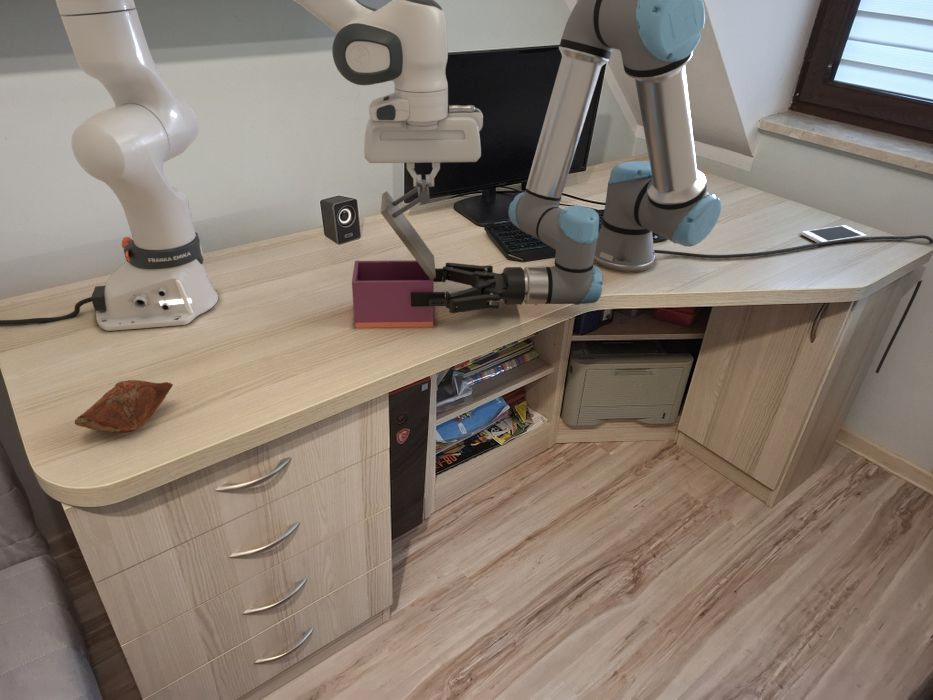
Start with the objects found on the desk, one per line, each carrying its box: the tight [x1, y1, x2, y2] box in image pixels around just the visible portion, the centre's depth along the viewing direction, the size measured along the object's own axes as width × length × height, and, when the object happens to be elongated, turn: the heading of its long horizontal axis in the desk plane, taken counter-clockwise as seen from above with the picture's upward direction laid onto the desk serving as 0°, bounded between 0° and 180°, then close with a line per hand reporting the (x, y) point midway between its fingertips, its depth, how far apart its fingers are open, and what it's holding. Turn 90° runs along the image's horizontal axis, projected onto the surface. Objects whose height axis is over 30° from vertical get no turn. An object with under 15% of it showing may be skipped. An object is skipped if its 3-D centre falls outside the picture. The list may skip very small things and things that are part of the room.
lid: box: [380, 178, 436, 280], centre depth 119 cm, size 16×9×9 cm
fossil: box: [74, 379, 174, 434], centre depth 97 cm, size 13×8×10 cm
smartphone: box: [801, 224, 867, 243], centre depth 170 cm, size 7×16×1 cm, turn 111°
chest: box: [351, 259, 435, 329], centre depth 126 cm, size 15×9×10 cm, turn 95°
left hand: (423, 185), depth 114 cm, fingers closed, pressing on lid
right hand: (410, 287), depth 126 cm, fingers closed on chest, 9 cm apart
